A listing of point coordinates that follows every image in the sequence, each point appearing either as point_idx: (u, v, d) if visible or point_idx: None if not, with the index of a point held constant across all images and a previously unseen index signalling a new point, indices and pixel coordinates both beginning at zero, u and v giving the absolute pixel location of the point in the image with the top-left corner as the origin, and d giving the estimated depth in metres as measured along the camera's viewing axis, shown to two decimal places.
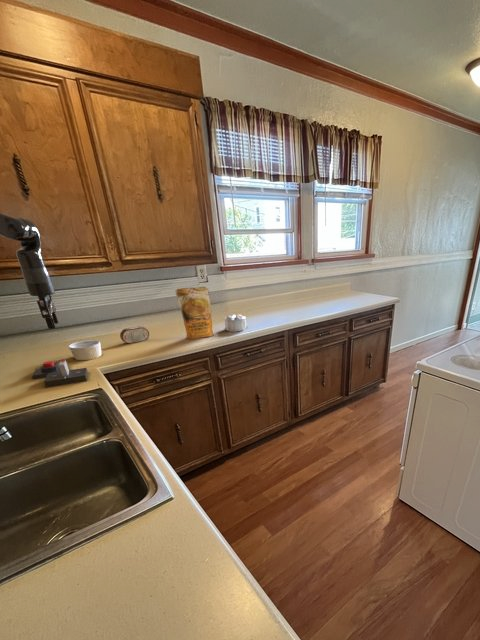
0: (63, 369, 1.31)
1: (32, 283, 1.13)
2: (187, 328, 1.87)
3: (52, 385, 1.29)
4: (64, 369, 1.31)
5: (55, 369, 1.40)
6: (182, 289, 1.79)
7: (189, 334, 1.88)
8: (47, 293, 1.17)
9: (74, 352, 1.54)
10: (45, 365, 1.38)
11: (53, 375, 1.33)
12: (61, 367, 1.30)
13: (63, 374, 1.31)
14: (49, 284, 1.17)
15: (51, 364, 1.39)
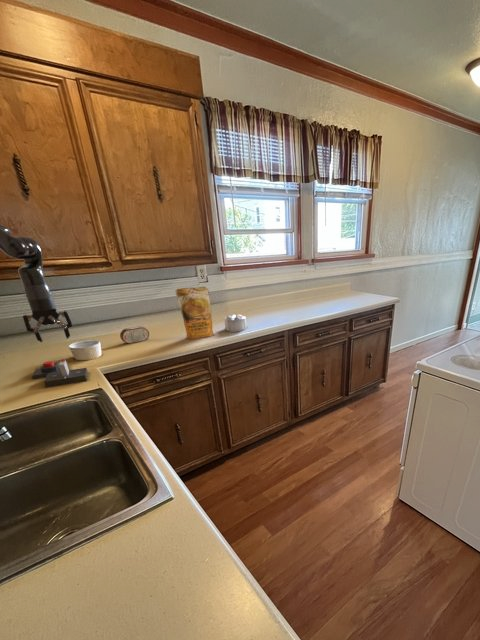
0: (63, 369, 1.31)
1: None
2: (187, 328, 1.87)
3: (52, 385, 1.29)
4: (64, 369, 1.31)
5: (55, 369, 1.40)
6: (182, 289, 1.79)
7: (189, 334, 1.88)
8: (32, 309, 1.18)
9: (74, 352, 1.54)
10: (45, 365, 1.38)
11: (53, 375, 1.33)
12: (61, 367, 1.30)
13: (63, 374, 1.31)
14: (33, 302, 1.17)
15: (51, 364, 1.39)
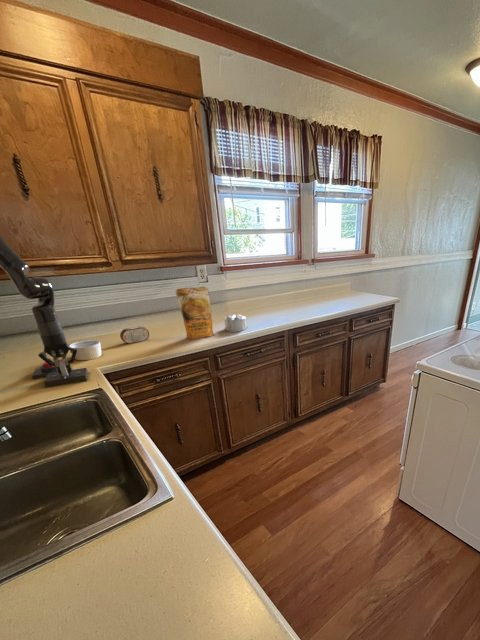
0: (63, 369, 1.31)
1: None
2: (187, 328, 1.87)
3: (52, 385, 1.29)
4: (64, 369, 1.31)
5: (55, 369, 1.40)
6: (182, 289, 1.79)
7: (189, 334, 1.88)
8: (44, 344, 1.25)
9: None
10: (45, 365, 1.38)
11: (53, 375, 1.33)
12: (61, 367, 1.30)
13: (63, 374, 1.31)
14: (45, 337, 1.23)
15: None
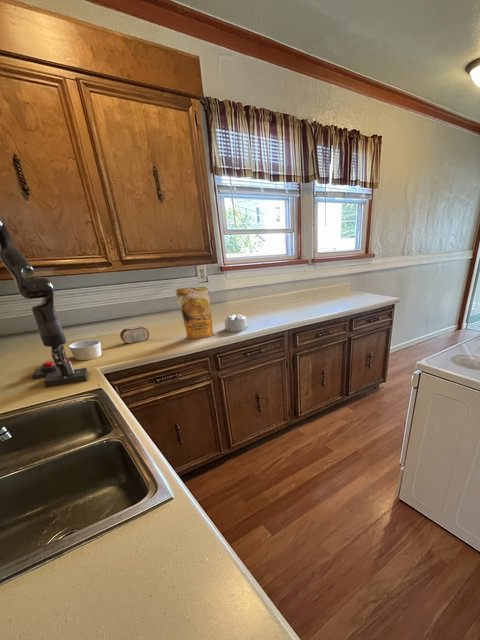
0: (55, 368, 1.32)
1: None
2: (187, 328, 1.87)
3: (52, 385, 1.29)
4: None
5: (55, 369, 1.40)
6: (182, 289, 1.79)
7: (189, 334, 1.88)
8: None
9: (74, 352, 1.54)
10: (45, 365, 1.38)
11: (53, 375, 1.33)
12: (55, 366, 1.31)
13: None
14: None
15: (51, 364, 1.39)
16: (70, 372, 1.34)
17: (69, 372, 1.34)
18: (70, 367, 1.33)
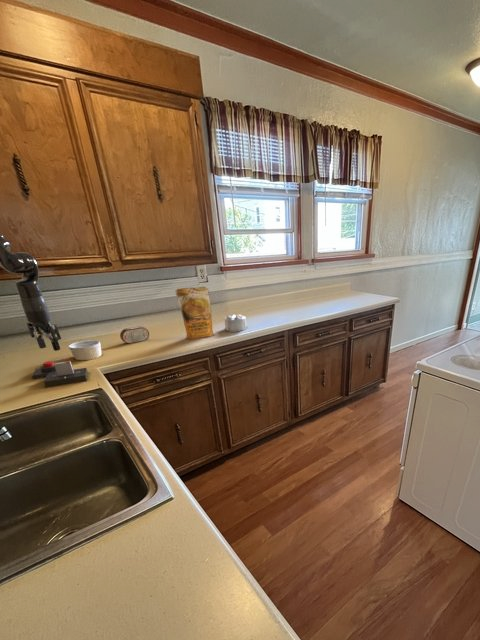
0: (55, 368, 1.32)
1: None
2: (187, 328, 1.87)
3: (52, 385, 1.29)
4: None
5: (55, 369, 1.40)
6: (182, 289, 1.79)
7: (189, 334, 1.88)
8: None
9: (74, 352, 1.54)
10: (45, 365, 1.38)
11: (53, 375, 1.33)
12: (55, 366, 1.31)
13: None
14: None
15: (51, 364, 1.39)
16: (70, 372, 1.34)
17: (69, 372, 1.34)
18: (70, 367, 1.33)
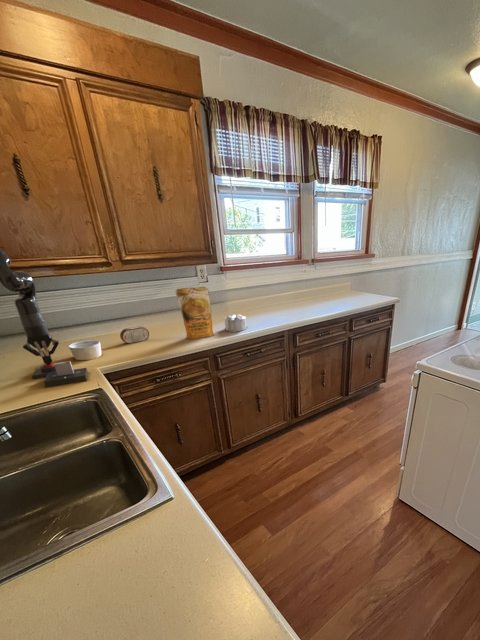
0: (55, 368, 1.32)
1: None
2: (187, 328, 1.87)
3: (52, 385, 1.29)
4: None
5: (55, 369, 1.40)
6: (182, 289, 1.79)
7: (189, 334, 1.88)
8: (27, 335, 1.31)
9: (74, 352, 1.54)
10: (46, 367, 1.39)
11: (53, 375, 1.33)
12: (55, 366, 1.31)
13: None
14: (27, 329, 1.29)
15: None
16: (70, 372, 1.34)
17: (69, 372, 1.34)
18: (70, 367, 1.33)
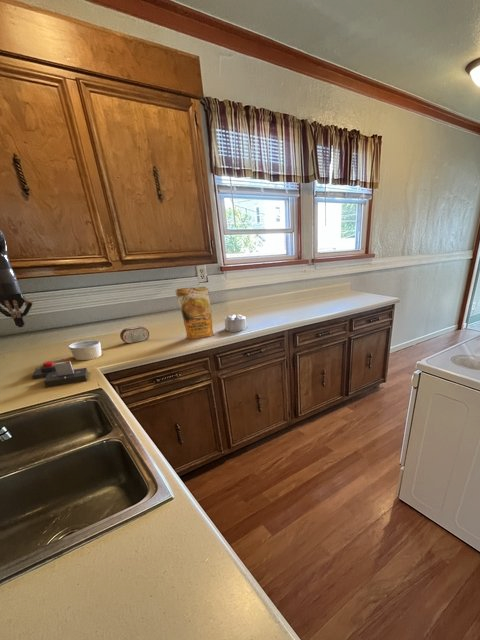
0: (55, 368, 1.32)
1: None
2: (187, 328, 1.87)
3: (52, 385, 1.29)
4: None
5: (55, 369, 1.40)
6: (182, 289, 1.79)
7: (189, 334, 1.88)
8: None
9: (74, 352, 1.54)
10: (45, 365, 1.38)
11: (53, 375, 1.33)
12: (55, 366, 1.31)
13: None
14: None
15: (51, 364, 1.39)
16: (70, 372, 1.34)
17: (69, 372, 1.34)
18: (70, 367, 1.33)
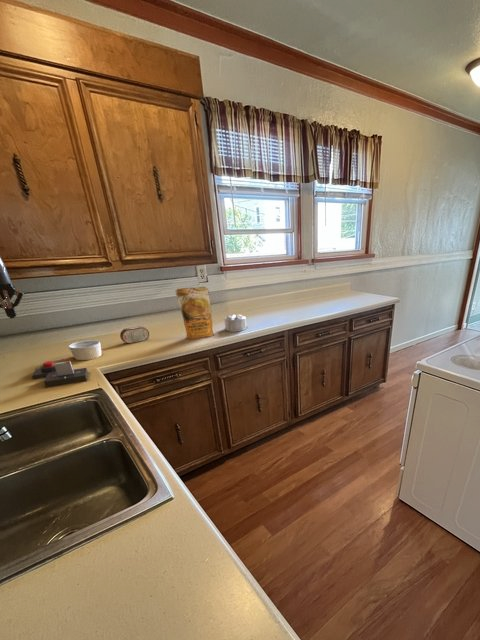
0: (55, 368, 1.32)
1: None
2: (187, 328, 1.87)
3: (52, 385, 1.29)
4: None
5: (55, 369, 1.40)
6: (182, 289, 1.79)
7: (189, 334, 1.88)
8: None
9: (74, 352, 1.54)
10: (45, 365, 1.38)
11: (53, 375, 1.33)
12: (55, 366, 1.31)
13: None
14: None
15: (51, 364, 1.39)
16: (70, 372, 1.34)
17: (69, 372, 1.34)
18: (70, 367, 1.33)
